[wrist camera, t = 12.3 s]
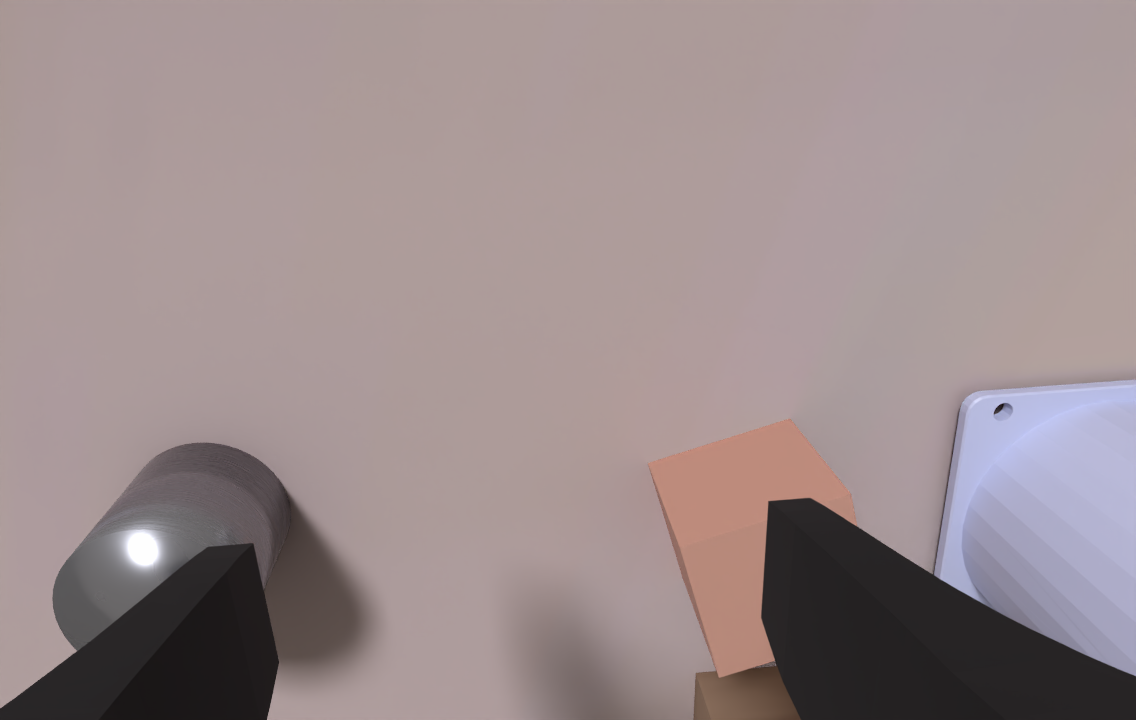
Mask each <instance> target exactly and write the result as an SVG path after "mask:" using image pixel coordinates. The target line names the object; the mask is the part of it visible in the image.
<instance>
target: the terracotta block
mask: <svg viewBox="0 0 1136 720" xmlns="http://www.w3.org/2000/svg"><path fill="white" fill-rule="evenodd" d="M648 465H649V468H650V472H651V475H652V478H653V482H654V485H655V488H656V491H657V495H658V498H659V501H660V505H661V508H662V511H663V514H664V518H665V521H666V524H667V528H668V531H669V534H670V537H671V541H672V544H673V547H674V551H675V554H676V557H677V560H678V564H679V567H680V570H681V574H682V577H683V580H684V583H685V585H686V588H687V591H688V594H689V596H690V599H691V602H692V605H693V607H694V610H695V613H696V616H697V619H698V621H699V624H700V627H701V630H702V632H703V635H704V638H705V641H706V643H707V646H708V649H709V652H710V654H711V657H712V660H713V663H714V665H715V668H716V671H717V674H718V677H719V678H720V677H724V676H727V675H730V674H733V673H737V672H740V671H743V670H747V669H750V668H753V667H756V666H760V665H763V664H766V663H769V662H773V661H775V659H774V656H773V653H772V650H771V647H770V644H769V641H768V638H767V635H766V632H765V629H764V626H763V622H762V619H761V609H762V594H763V578H764V562H765V546H766V531H767V515H768V501H775V500H787V499H800V498H812V499H813V500H815V501H817V502H819V503H821V504H822V505H824V506H826V507H827V508H829V509H830V510H832V511H834V512H835V513H837V514H838V515H840V516H841V517H843V518H845V519H846V520H848V521H849V522H851V523H852V524H854V525H855V526H857V522H856V517H855V512H854V507H853V502H852V497H851V494H850V492H849V491H848V490H847V489H846V487H845V486H844V485H843V484H842V482H841V481H840V480H839V479H838V477H837V476H836V475H835V474H834V472H833V471H832V470H831V469H830V468H829V466H828V465H827V464H826V463H825V461H824V460H823V459H822V458H821V456H820V455H819V454H818V453H817V451H816V450H815V449H814V448H813V446H812V445H811V444H810V443H809V442H808V440H807V439H806V438H805V437H804V435H803V434H802V433H801V432H800V430H799V429H798V428H797V427H796V425H795V424H794V423H793V422H792V420H791V419H787V420H784V421H781V422H777V423H774V424H771V425H768V426H765V427H762V428H758V429H755V430H752V431H749V432H746V433H742V434H739V435H736V436H733V437H730V438H727V439H723V440H720V441H717V442H714V443H711V444H707V445H704V446H701V447H698V448H695V449H692V450H688V451H685V452H682V453H679V454H676V455H672V456H669V457H666V458H663V459H660V460H657V461H653V462H650V463H648Z"/></svg>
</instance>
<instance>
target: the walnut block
mask: <svg viewBox="0 0 1136 720" xmlns="http://www.w3.org/2000/svg"><path fill="white" fill-rule="evenodd" d="M694 720H801V719H800V717H799V715H798V713H797V710H796V708H795V706H794V704H793V702H792V700H791V698H790V696H789V694H788V692H787V690H786V688H785V685H784V683H783V681H782V678H781V675H780V673H779V670H778V667H777V666H774V667H762V668H750V669H747V670H743V671H740V672H737V673H733V674H730V675H727V676H724V677H720V678H719V677H718V674H717V671H714V672H702V673H696V680H695V701H694Z"/></svg>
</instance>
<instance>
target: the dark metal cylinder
mask: <svg viewBox="0 0 1136 720" xmlns="http://www.w3.org/2000/svg"><path fill="white" fill-rule="evenodd" d="M290 521H291V510H290V504H289V500H288V496H287V494H286V492H285V489H284V487H283V486H282V484H281V482H280V481H279V479H278V478H277V477H276V476H275V474H274V473H273V472H272V471H271V470H270V469H269V468H268V467H267V466H266V465H265V464H263V463H262V462H261V461H259V460H258V459H256V458H255V457H253V456H251V455H250V454H248V453H246V452H243V451H241V450H239V449H236V448H233V447H230V446H226V445H221V444H214V443H192V444H185V445H181V446H177V447H174V448H172V449H169V450H167V451H165V452H163V453H161V454H159V455H158V456H156V457H155V458H154V459H152V460H151V461H150V462H149V463H148V464H147V465H146V466H145V467H144V468H143V469H142V470H141V472H140V473H139V474H138V475H137V476H136V478H135V479H134V480H133V481H132V482H131V484H130V485H129V486H128V487H127V488H126V490H125V491H124V492H123V493H122V495H121V496H120V497H119V498H118V499H117V501H116V502H115V503H114V504H113V505H112V507H111V508H110V509H109V510H108V511H107V513H106V514H105V515H104V516H103V517H102V519H101V520H100V521H99V522H98V523H97V525H96V526H95V527H94V528H93V529H92V531H91V532H90V533H89V534H88V535H87V537H86V538H85V539H84V540H83V542H82V543H81V544H80V545H79V546H78V548H77V549H76V550H75V551H74V552H73V554H72V555H71V556H70V557H69V558H68V560H67V561H66V562H65V564H64V565H63V567H62V568H61V569H60V571H59V574H58V576H57V578H56V581H55V584H54V588H53V609H54V613H55V617H56V620H57V622H58V625H59V627H60V629H61V631H62V632H63V634H64V636H65V637H66V639H67V640H68V641H69V642H70V644H71V645H72V646H73V647H74V648H75V649H76V650H77V651H78V650H80V649H81V648H82V647H84V646H85V645H86V644H87V643H89V642H90V641H91V640H92V639H94V638H95V637H96V636H97V635H99V634H100V633H101V632H102V631H104V630H105V629H106V628H107V627H109V626H110V625H111V624H112V623H113V622H115V621H116V620H117V619H118V618H120V617H121V616H122V615H123V614H124V613H126V612H127V611H128V610H129V609H131V608H132V607H133V606H134V605H136V604H137V603H138V602H139V601H140V600H142V599H143V598H144V597H145V596H146V595H148V594H149V593H150V592H151V591H153V590H154V589H155V588H156V587H157V586H159V585H160V584H161V583H162V582H163V581H165V580H166V579H167V578H168V577H169V576H171V575H172V574H173V573H174V572H176V571H177V570H178V569H179V568H180V567H182V566H183V565H184V564H185V563H187V562H188V561H189V560H191V559H192V558H193V557H194V556H196V555H197V554H198V553H200V552H201V551H203V550H204V549H205V548H207V547H211V546H223V545H235V544H247V543H254V548H255V553H256V557H257V562H258V567H259V571H260V576H261V581H262V585H263V590H264V589H265V586H266V584H267V582H268V579H269V577H270V574H271V572H272V570H273V567H274V565H275V563H276V560H277V558H278V555H279V553H280V551H281V548H282V546H283V543H284V541H285V539H286V536H287V534H288V531H289V527H290Z"/></svg>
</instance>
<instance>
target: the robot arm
mask: <svg viewBox="0 0 1136 720" xmlns="http://www.w3.org/2000/svg"><path fill="white" fill-rule="evenodd" d="M1003 403H1004V406H1003V409H1002V410H1001V411H1000V412H999V413H997V414H994V411H995V409H996V407H997V406H999V405H1000V404H1003ZM761 619H762V622H763V626H764V629H765V632H766V635H767V638H768V641H769V644H770V647H771V650H772V653H773V656H774V659H775V661H776V664H777V667H778V670H779V673H780V675H781V678H782V681H783V683H784V685H785V688H786V690H787V692H788V694H789V696H790V698H791V700H792V702H793V704H794V706H795V708H796V710H797V713H798V715H799V717H800V719H801V720H1136V380H1124V381H1110V382H1096V383H1082V384H1069V385H1055V386H1041V387H1028V388H1014V389H1000V390H986V391H978V392H974V393H972V394H971V395H969V396H968V397H967V398H966V399H965V400H964V401H963V403H962V405H961V408H960V412H959V419H958V425H957V432H956V438H955V444H954V451H953V457H952V463H951V470H950V476H949V482H948V489H947V495H946V501H945V508H944V514H943V521H942V527H941V533H940V540H939V546H938V552H937V559H936V565H935V571H934V575H933V574H931V573H929V572H928V571H926V570H924V569H923V568H921V567H919V566H918V565H916V564H915V563H913V562H911V561H910V560H908V559H907V558H905V557H903V556H902V555H900V554H899V553H897V552H896V551H894V550H892V549H891V548H889V547H888V546H886V545H885V544H883V543H882V542H880V541H878V540H877V539H875V538H874V537H872V536H871V535H869V534H868V533H866V532H865V531H863V530H862V529H860V528H858V527H857V526H855V525H854V524H852V523H851V522H849V521H848V520H846V519H845V518H843V517H841V516H840V515H838V514H837V513H835V512H834V511H832V510H830V509H829V508H827V507H826V506H824V505H822V504H821V503H819V502H817V501H815V500H813V499H812V498H800V499H787V500H775V501H768V515H767V531H766V546H765V562H764V578H763V594H762V609H761ZM278 664H279V660H278V655H277V651H276V646H275V641H274V637H273V632H272V627H271V623H270V618H269V613H268V609H267V604H266V599H265V595H264V590H263V585H262V581H261V576H260V571H259V567H258V562H257V557H256V553H255V548H254V543H247V544H235V545H223V546H211V547H207V548H205V549H204V550H203V551H201V552H200V553H198V554H197V555H196V556H194V557H193V558H192V559H191V560H189V561H188V562H187V563H185V564H184V565H183V566H182V567H180V568H179V569H178V570H177V571H176V572H174V573H173V574H172V575H171V576H169V577H168V578H167V579H166V580H165V581H163V582H162V583H161V584H160V585H159V586H157V587H156V588H155V589H154V590H153V591H151V592H150V593H149V594H148V595H146V596H145V597H144V598H143V599H142V600H140V601H139V602H138V603H137V604H136V605H134V606H133V607H132V608H131V609H129V610H128V611H127V612H126V613H124V614H123V615H122V616H121V617H120V618H118V619H117V620H116V621H115V622H113V623H112V624H111V625H110V626H109V627H107V628H106V629H105V630H104V631H102V632H101V633H100V634H99V635H97V636H96V637H95V638H94V639H92V640H91V641H90V642H89V643H87V644H86V645H85V646H84V647H82V648H81V649H80V650H78V651H77V652H76V653H74V654H73V655H72V656H70V657H69V658H68V659H66V660H65V661H64V662H62V663H61V664H60V665H58V666H57V667H56V668H54V669H53V670H52V671H50V672H49V673H48V674H46V675H45V676H44V677H42V678H41V679H40V680H38V681H37V682H36V683H34V684H33V685H32V686H30V687H29V688H28V689H26V690H25V691H24V692H23V693H21V694H20V695H19V696H17V697H16V698H14V699H13V700H12V701H10V702H9V703H7V704H6V705H5V706H3V707H2V708H0V720H267V716H268V712H269V708H270V703H271V699H272V694H273V689H274V684H275V679H276V674H277V669H278Z"/></svg>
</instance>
